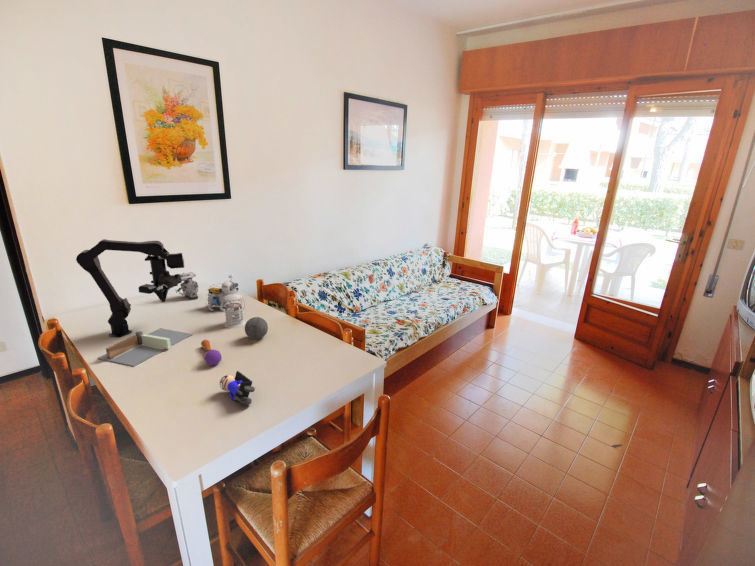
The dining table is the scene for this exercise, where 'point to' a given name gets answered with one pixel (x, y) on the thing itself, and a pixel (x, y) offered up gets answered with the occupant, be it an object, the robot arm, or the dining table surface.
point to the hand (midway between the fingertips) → (163, 302)
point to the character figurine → (237, 387)
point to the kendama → (211, 354)
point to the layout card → (147, 348)
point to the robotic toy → (221, 295)
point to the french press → (236, 320)
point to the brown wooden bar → (124, 345)
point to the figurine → (188, 285)
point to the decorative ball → (256, 328)
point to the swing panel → (156, 341)
